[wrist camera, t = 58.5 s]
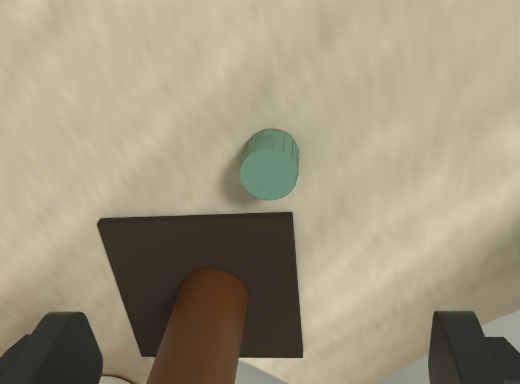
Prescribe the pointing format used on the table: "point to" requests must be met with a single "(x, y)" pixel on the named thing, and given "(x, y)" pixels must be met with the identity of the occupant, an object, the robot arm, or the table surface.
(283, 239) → the coaster
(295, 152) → the cap
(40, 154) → the table surface
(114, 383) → the water bottle
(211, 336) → the bottle
